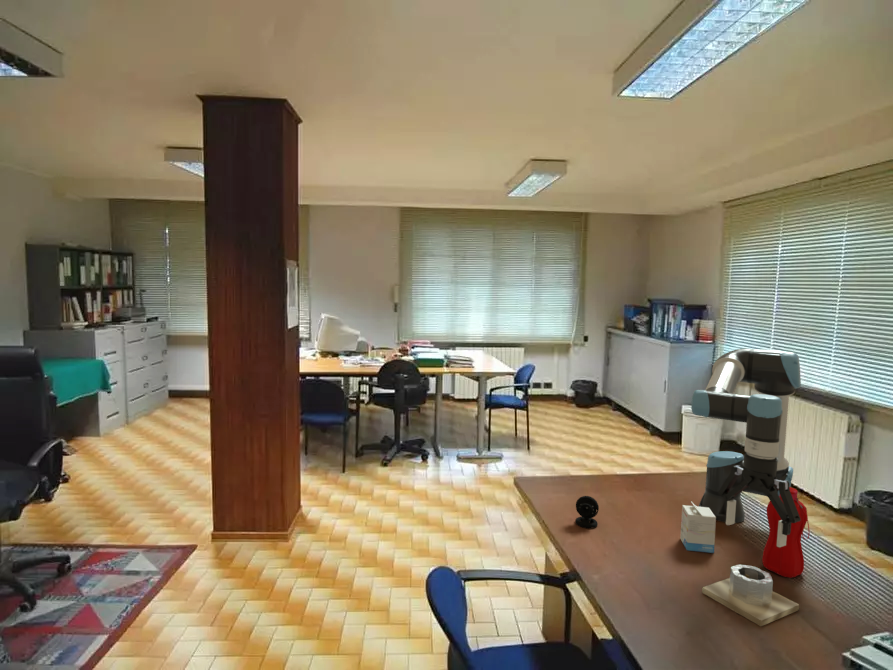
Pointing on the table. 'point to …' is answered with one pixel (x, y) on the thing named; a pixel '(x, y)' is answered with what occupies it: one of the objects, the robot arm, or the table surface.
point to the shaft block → (752, 612)
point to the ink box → (698, 528)
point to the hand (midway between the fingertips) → (754, 534)
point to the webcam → (587, 512)
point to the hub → (751, 586)
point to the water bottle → (790, 556)
